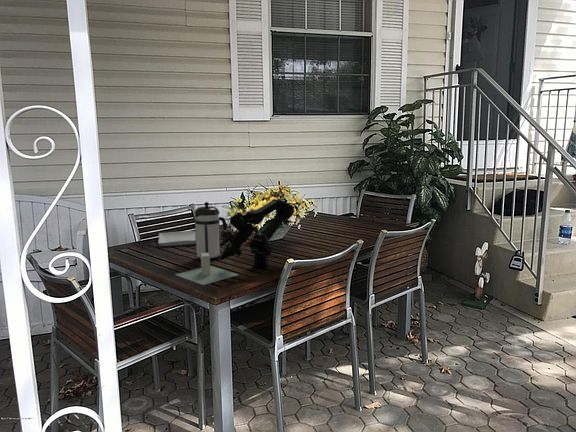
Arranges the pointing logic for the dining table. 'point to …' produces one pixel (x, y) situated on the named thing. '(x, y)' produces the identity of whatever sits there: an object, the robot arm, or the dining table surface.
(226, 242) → the sunglasses case
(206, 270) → the card box
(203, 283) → the rubber mat
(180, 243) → the square plate
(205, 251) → the coffee press
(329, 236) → the dining table surface
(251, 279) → the dining table surface
